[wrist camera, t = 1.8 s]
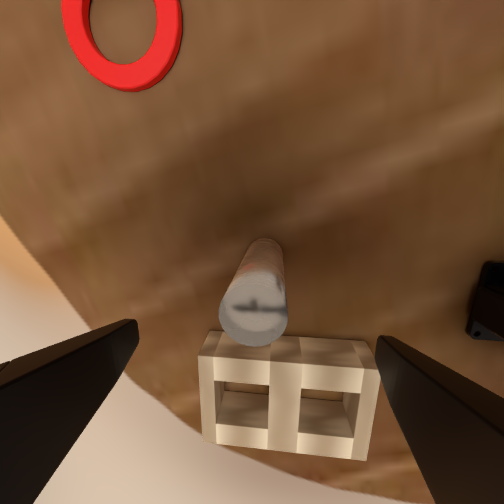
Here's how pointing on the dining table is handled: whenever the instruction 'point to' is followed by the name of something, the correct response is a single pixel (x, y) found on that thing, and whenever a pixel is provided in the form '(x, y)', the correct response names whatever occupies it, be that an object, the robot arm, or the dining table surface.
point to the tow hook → (135, 73)
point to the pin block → (289, 395)
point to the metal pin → (256, 297)
